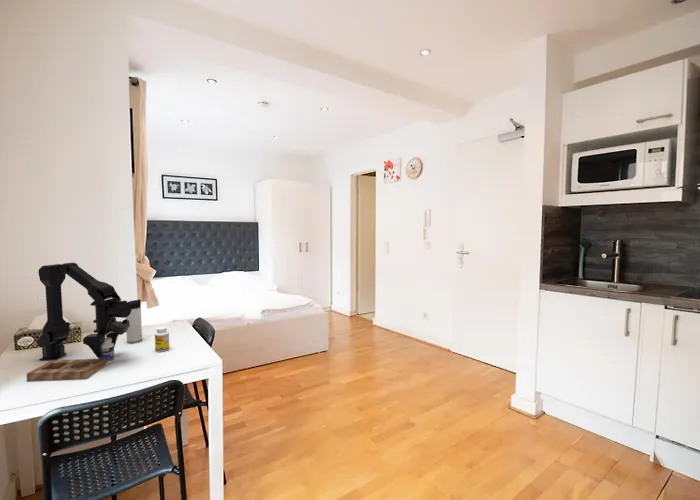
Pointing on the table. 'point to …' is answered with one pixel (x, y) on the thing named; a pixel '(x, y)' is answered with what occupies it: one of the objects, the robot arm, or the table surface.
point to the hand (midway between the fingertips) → (106, 353)
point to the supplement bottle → (161, 339)
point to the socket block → (66, 369)
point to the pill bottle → (107, 351)
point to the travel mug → (134, 322)
